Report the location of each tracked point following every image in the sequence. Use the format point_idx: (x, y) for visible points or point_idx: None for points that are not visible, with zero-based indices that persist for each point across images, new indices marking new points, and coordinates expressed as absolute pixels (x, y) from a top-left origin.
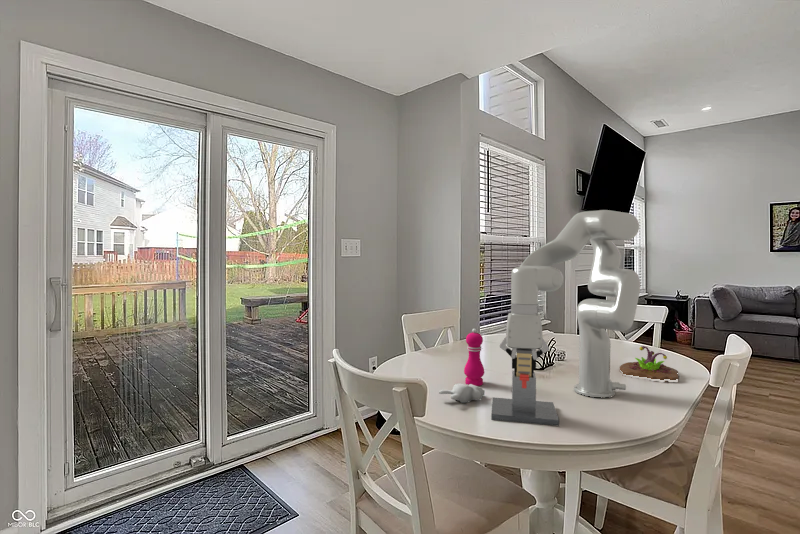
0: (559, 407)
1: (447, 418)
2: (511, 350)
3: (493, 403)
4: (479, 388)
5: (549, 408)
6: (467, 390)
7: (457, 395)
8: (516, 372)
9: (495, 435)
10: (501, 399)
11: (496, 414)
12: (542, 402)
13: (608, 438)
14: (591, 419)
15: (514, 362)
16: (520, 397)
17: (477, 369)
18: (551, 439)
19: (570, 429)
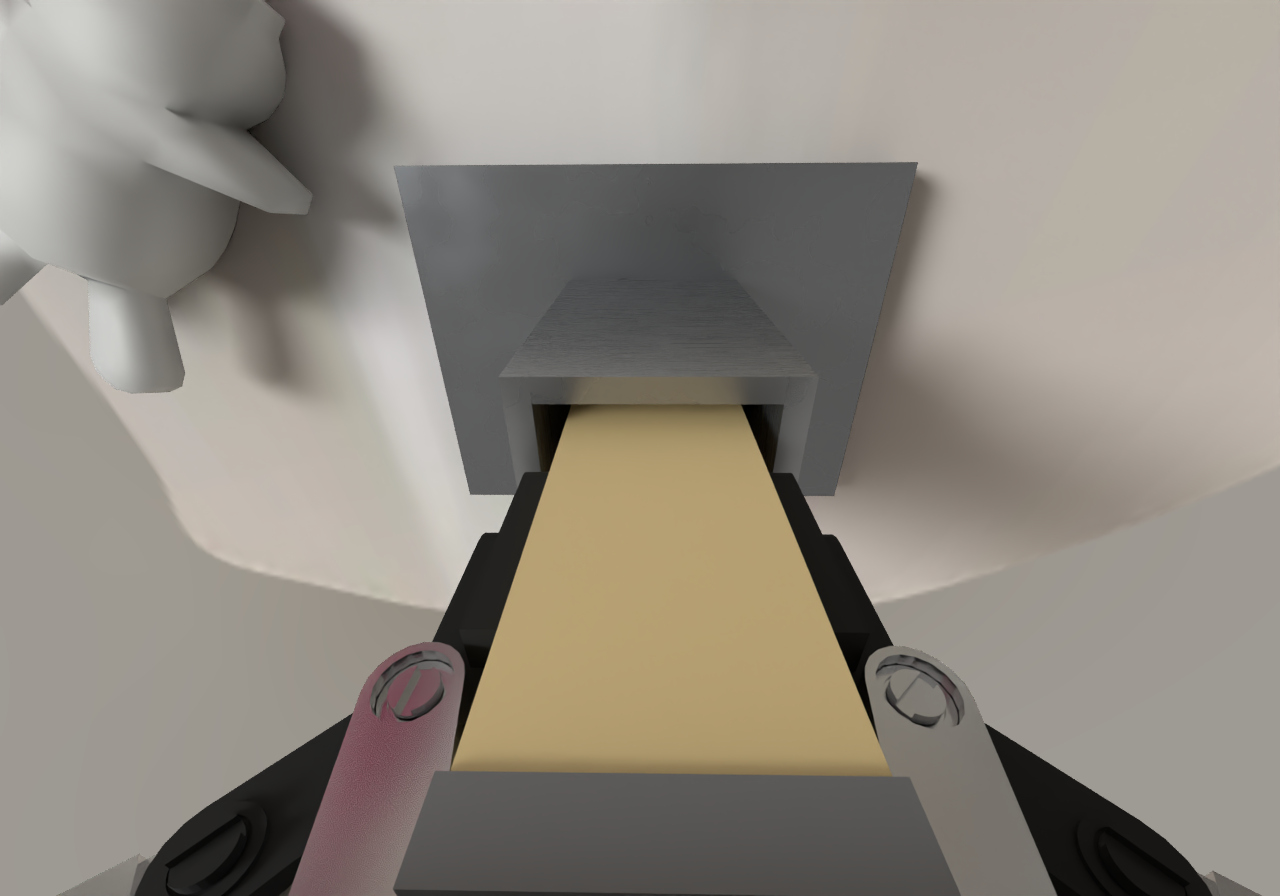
0: (953, 144)
1: (268, 506)
2: (328, 840)
3: (439, 321)
4: (199, 78)
5: (836, 327)
6: (147, 242)
7: (147, 360)
8: (564, 433)
9: None
10: (478, 208)
11: (498, 494)
12: (819, 196)
13: (1004, 551)
14: (1070, 346)
15: None
16: None
17: None
18: None
19: (868, 501)
